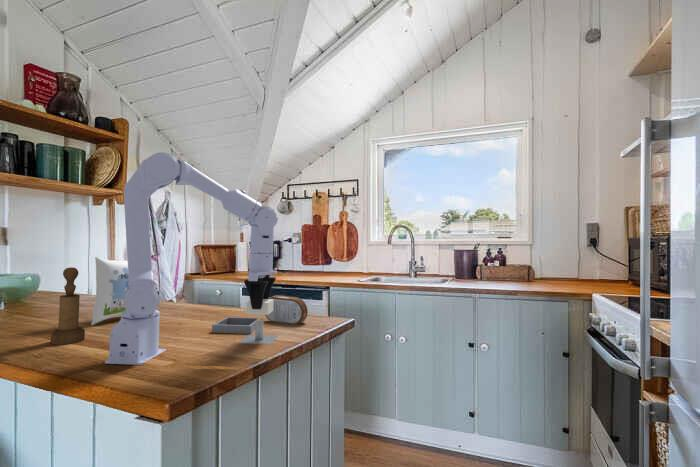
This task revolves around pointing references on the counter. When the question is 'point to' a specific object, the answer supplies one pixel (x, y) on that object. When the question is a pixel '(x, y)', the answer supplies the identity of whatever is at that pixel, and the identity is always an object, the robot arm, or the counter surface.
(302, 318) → the tin
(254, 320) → the tray
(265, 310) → the ring
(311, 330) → the counter surface
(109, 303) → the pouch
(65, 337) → the brown tall wooden piece
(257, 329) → the grey plate with post
